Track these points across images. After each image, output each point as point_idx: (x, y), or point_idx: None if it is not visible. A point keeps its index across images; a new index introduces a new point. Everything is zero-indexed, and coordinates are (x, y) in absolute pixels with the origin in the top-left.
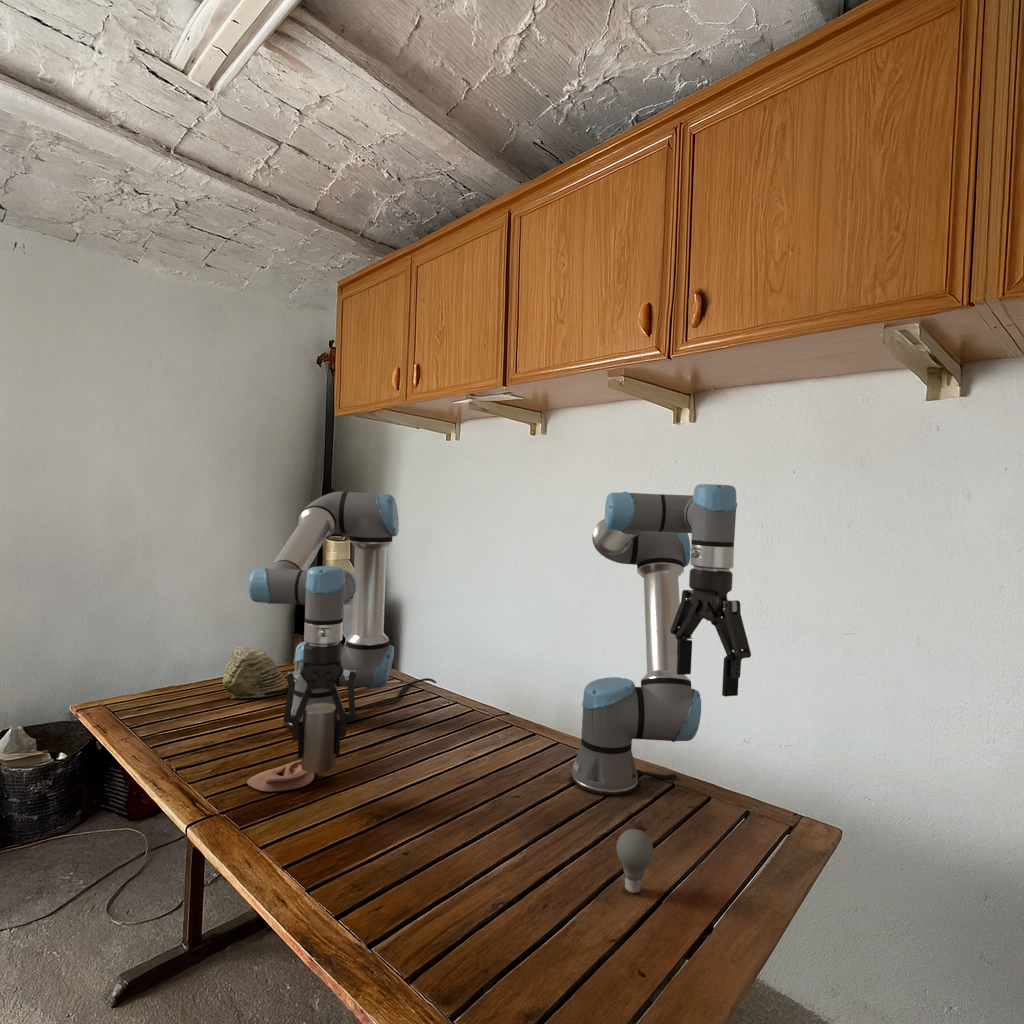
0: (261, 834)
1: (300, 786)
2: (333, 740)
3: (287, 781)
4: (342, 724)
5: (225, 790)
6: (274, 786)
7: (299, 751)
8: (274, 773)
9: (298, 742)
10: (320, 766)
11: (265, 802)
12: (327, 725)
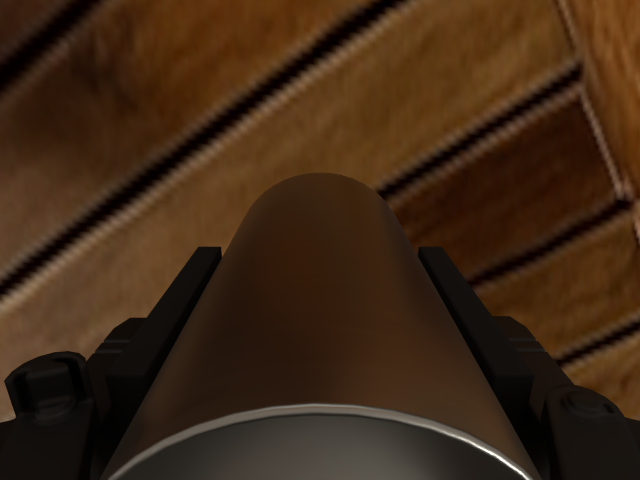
0: (512, 14)
1: None
2: (211, 277)
3: None
4: (99, 388)
5: (600, 346)
6: None
7: (443, 261)
8: None
9: (472, 290)
10: (307, 179)
11: (486, 250)
12: (230, 310)
